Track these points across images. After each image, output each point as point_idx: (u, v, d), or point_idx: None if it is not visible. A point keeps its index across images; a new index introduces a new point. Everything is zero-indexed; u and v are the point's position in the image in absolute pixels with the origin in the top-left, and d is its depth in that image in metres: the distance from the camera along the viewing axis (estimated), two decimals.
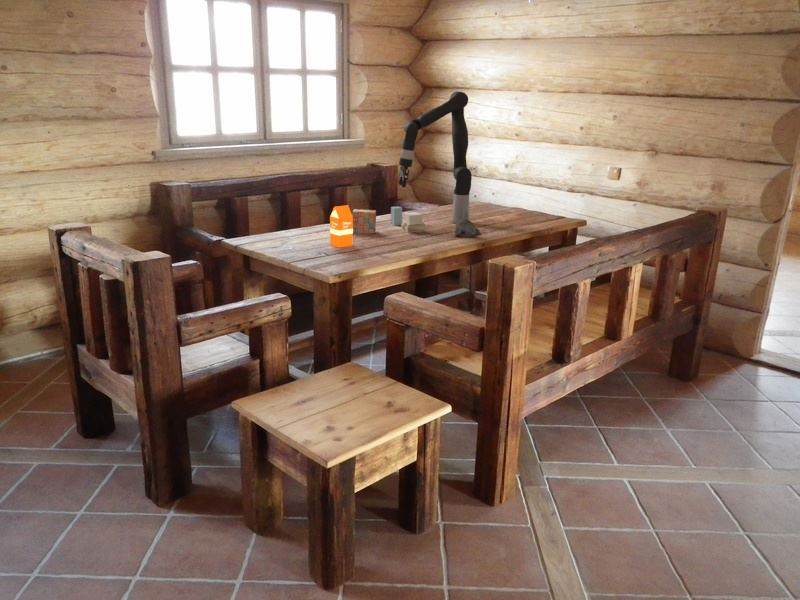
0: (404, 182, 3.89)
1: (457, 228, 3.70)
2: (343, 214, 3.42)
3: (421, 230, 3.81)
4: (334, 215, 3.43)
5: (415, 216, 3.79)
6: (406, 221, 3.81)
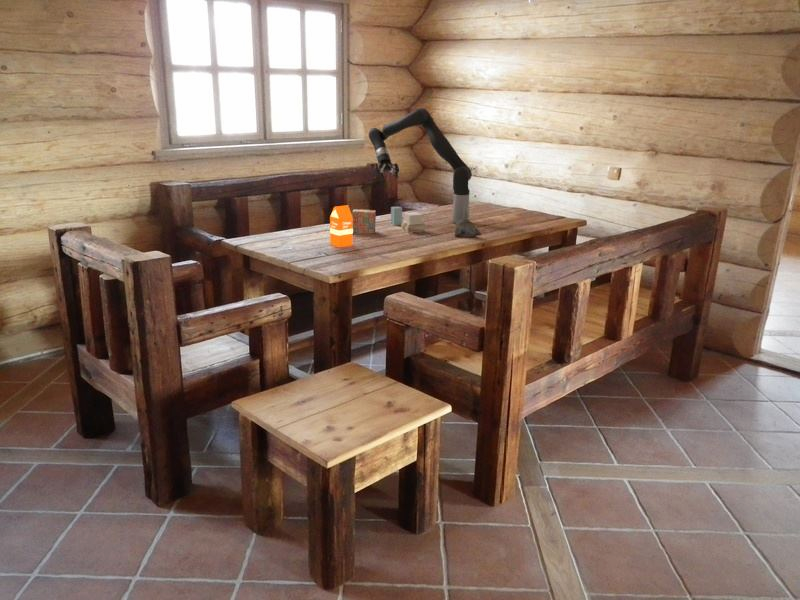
0: (380, 175, 4.02)
1: (457, 228, 3.70)
2: (343, 214, 3.42)
3: (421, 230, 3.81)
4: (334, 215, 3.43)
5: (415, 216, 3.79)
6: (406, 221, 3.81)
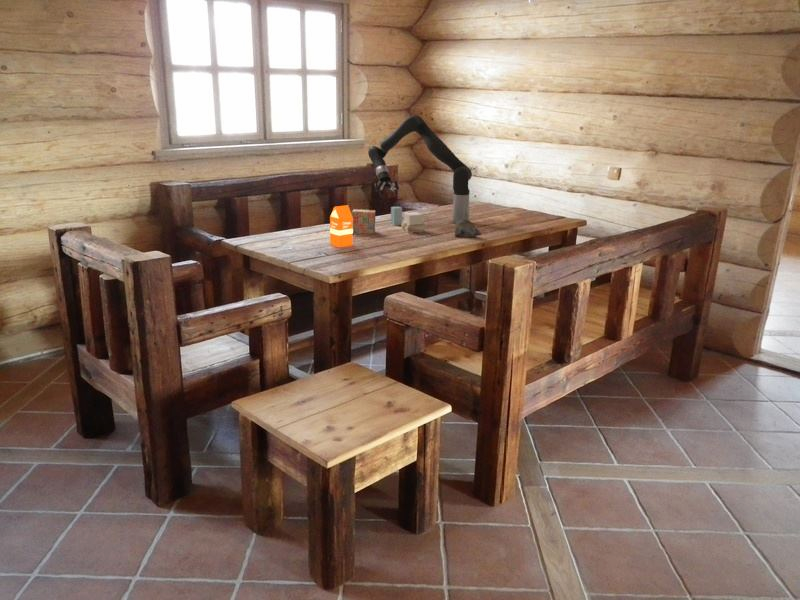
0: (380, 193, 4.05)
1: (457, 228, 3.70)
2: (343, 214, 3.42)
3: (421, 230, 3.81)
4: (334, 215, 3.43)
5: (415, 216, 3.79)
6: (406, 221, 3.82)
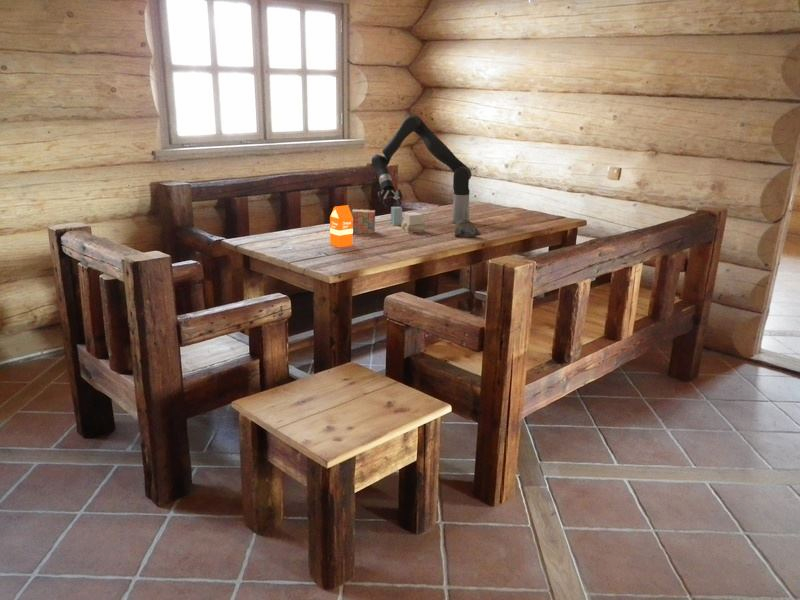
0: (383, 202, 4.02)
1: (457, 228, 3.70)
2: (343, 214, 3.42)
3: (421, 230, 3.81)
4: (334, 215, 3.43)
5: (415, 216, 3.78)
6: (406, 221, 3.81)
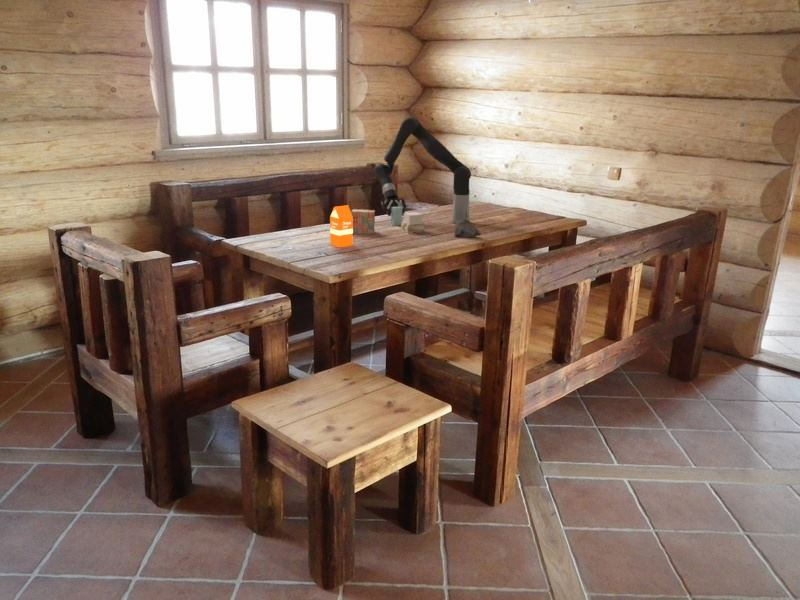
0: (387, 211, 3.98)
1: (457, 228, 3.70)
2: (343, 214, 3.42)
3: (421, 230, 3.81)
4: (334, 215, 3.43)
5: (415, 216, 3.78)
6: (406, 221, 3.81)
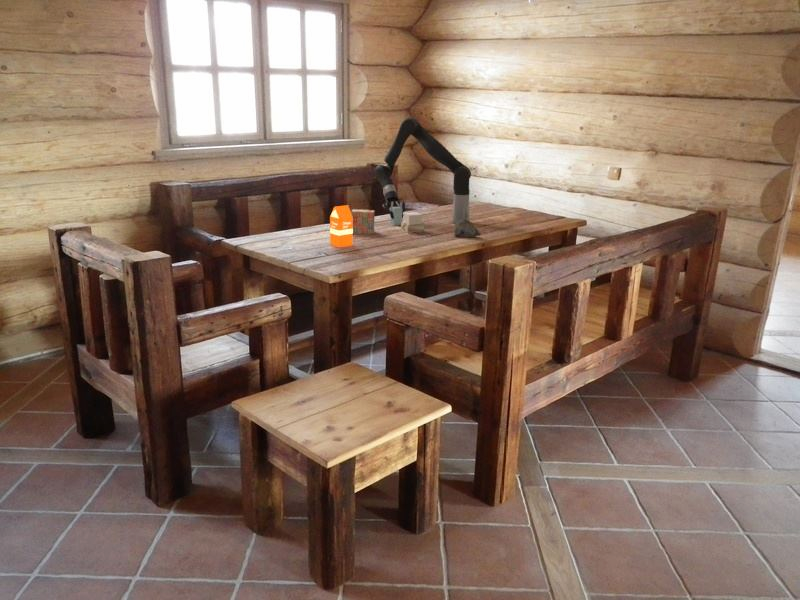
0: None
1: (456, 228, 3.70)
2: (343, 214, 3.42)
3: (421, 230, 3.81)
4: (334, 215, 3.43)
5: (415, 216, 3.78)
6: (406, 221, 3.81)
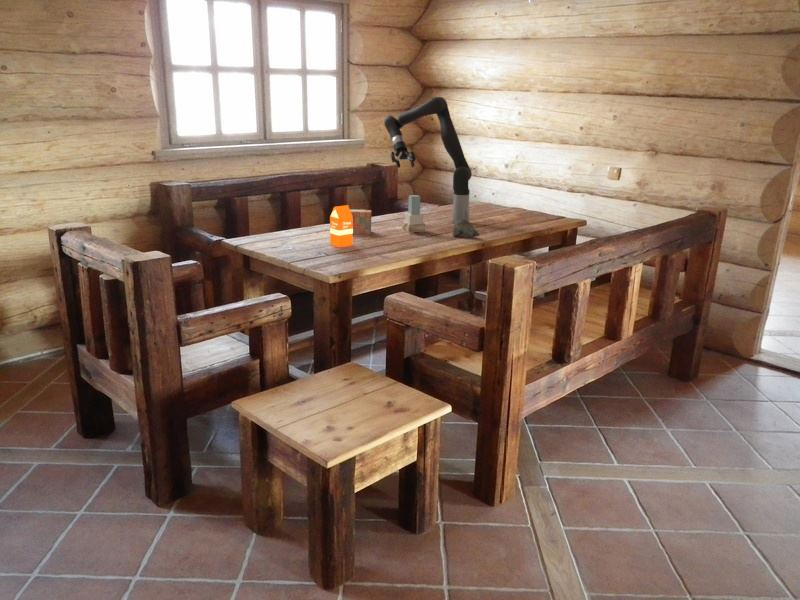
0: (396, 163, 3.96)
1: (455, 228, 3.70)
2: (343, 214, 3.42)
3: (422, 230, 3.81)
4: (334, 215, 3.43)
5: (416, 216, 3.78)
6: (407, 221, 3.81)
